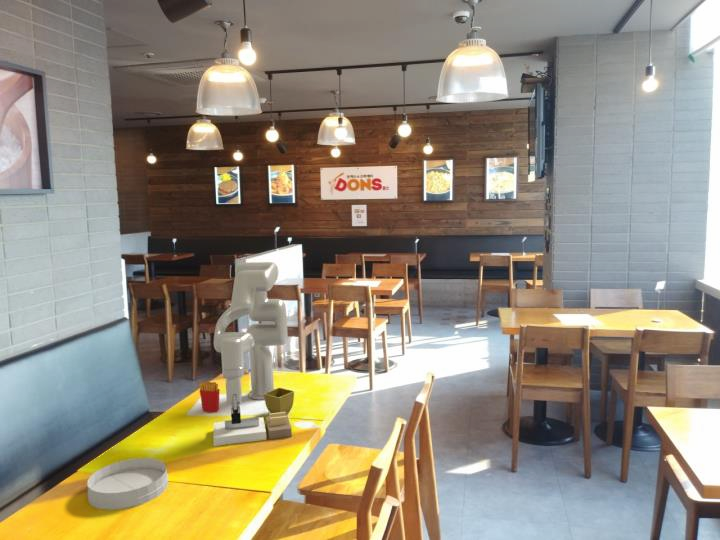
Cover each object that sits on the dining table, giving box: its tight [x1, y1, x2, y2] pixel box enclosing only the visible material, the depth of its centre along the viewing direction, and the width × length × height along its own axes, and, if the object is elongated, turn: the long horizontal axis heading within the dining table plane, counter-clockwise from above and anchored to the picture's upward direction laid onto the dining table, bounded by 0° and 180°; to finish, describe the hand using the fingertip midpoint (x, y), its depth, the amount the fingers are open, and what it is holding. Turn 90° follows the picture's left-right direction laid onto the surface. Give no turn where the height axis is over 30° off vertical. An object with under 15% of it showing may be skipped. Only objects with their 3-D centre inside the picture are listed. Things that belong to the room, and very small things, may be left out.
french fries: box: [198, 381, 220, 414], centre depth 231 cm, size 8×4×12 cm, turn 74°
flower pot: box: [264, 387, 295, 415], centre depth 225 cm, size 9×9×9 cm
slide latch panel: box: [212, 412, 293, 447], centre depth 207 cm, size 14×27×6 cm, turn 103°
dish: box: [86, 457, 169, 511], centre depth 168 cm, size 22×22×5 cm
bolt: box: [224, 405, 260, 430], centre depth 206 cm, size 3×12×7 cm, turn 103°
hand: (236, 420), depth 205 cm, fingers closed on bolt, 3 cm apart
